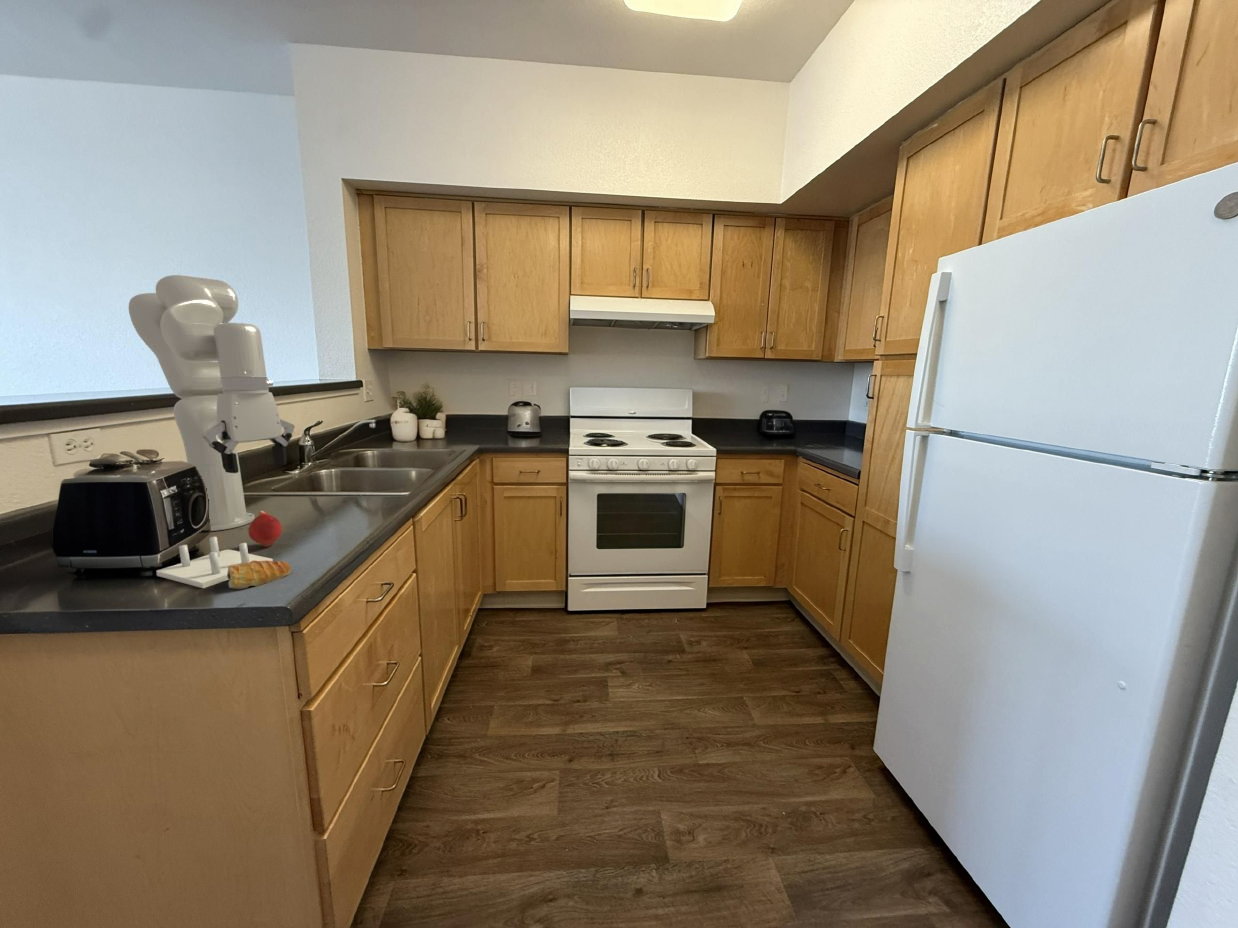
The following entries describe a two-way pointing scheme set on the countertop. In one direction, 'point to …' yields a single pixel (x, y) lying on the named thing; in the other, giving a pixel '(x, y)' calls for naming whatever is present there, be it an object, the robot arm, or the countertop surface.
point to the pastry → (256, 573)
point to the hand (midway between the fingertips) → (257, 468)
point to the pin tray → (208, 565)
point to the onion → (265, 529)
